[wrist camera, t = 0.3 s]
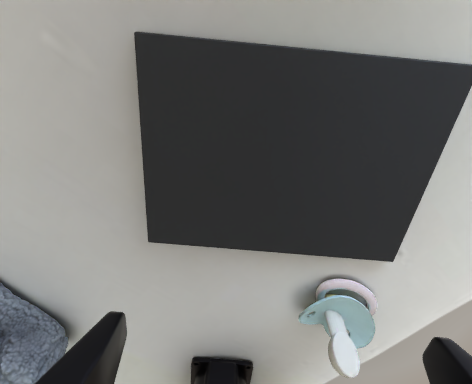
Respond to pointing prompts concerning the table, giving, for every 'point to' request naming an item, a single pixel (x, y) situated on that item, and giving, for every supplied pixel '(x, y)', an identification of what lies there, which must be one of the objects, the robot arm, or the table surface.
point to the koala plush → (27, 340)
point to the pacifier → (343, 322)
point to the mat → (289, 144)
